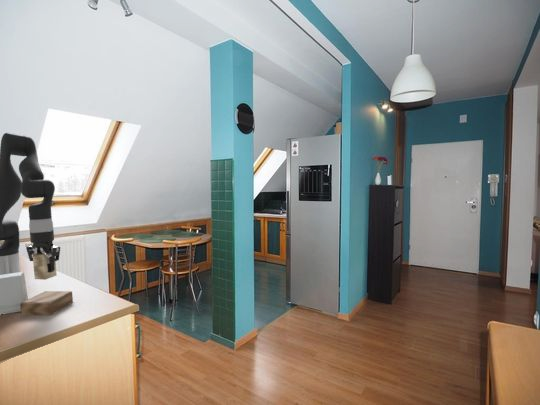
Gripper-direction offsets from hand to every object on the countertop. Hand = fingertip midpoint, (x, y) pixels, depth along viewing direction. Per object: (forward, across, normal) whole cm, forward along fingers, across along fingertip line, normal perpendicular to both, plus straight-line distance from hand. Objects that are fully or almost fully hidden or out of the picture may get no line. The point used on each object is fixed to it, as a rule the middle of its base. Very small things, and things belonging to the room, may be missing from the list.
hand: (45, 271), depth 119 cm
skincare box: (+15, -12, -4) cm, 20 cm away
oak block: (+2, 0, 0) cm, 2 cm away
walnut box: (+16, 0, 0) cm, 16 cm away
